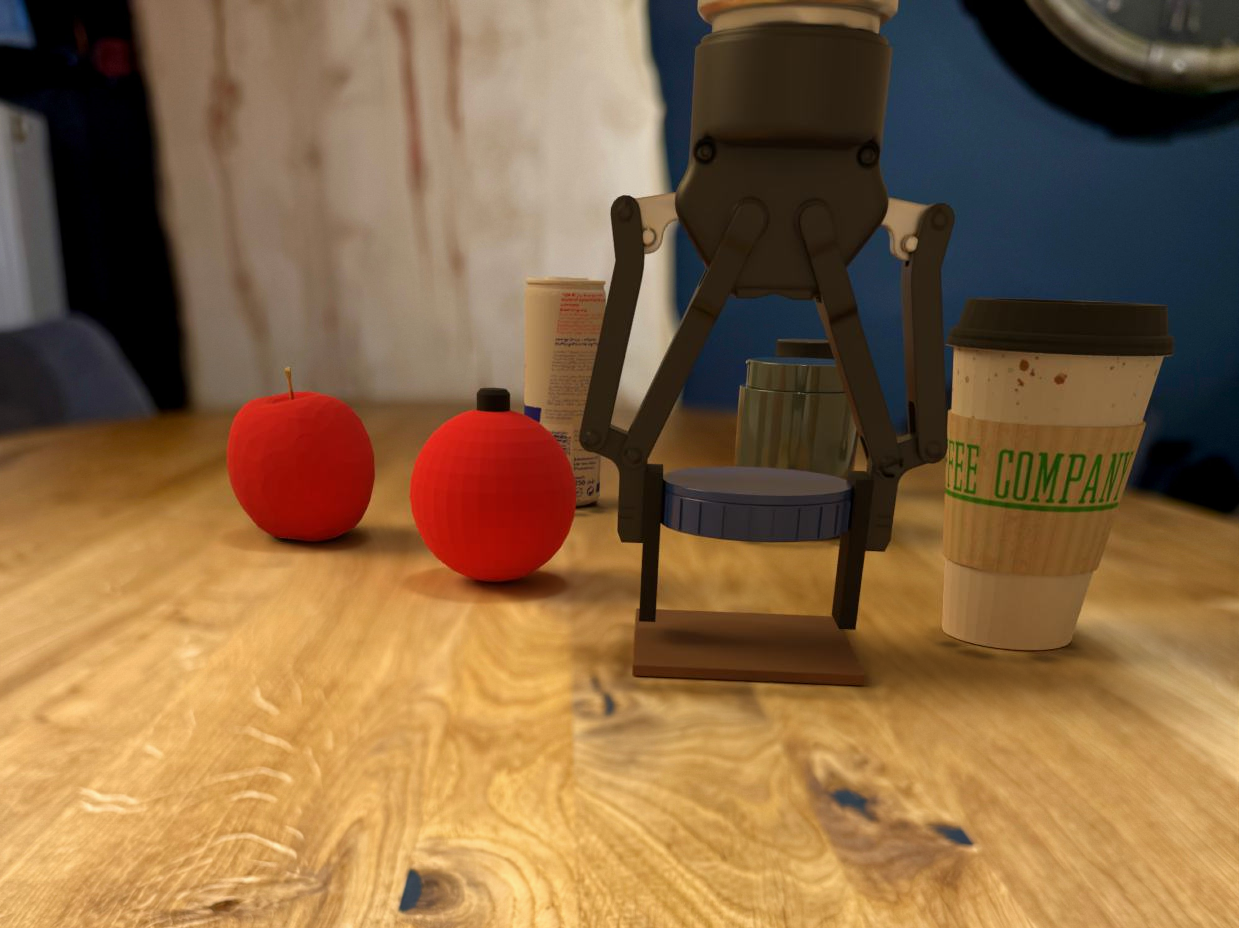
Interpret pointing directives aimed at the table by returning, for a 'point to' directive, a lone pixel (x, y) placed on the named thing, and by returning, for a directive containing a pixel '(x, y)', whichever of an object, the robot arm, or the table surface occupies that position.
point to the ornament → (493, 492)
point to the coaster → (744, 648)
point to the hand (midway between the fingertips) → (745, 617)
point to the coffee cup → (1039, 458)
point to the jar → (795, 417)
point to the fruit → (301, 465)
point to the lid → (756, 504)
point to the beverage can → (564, 365)
